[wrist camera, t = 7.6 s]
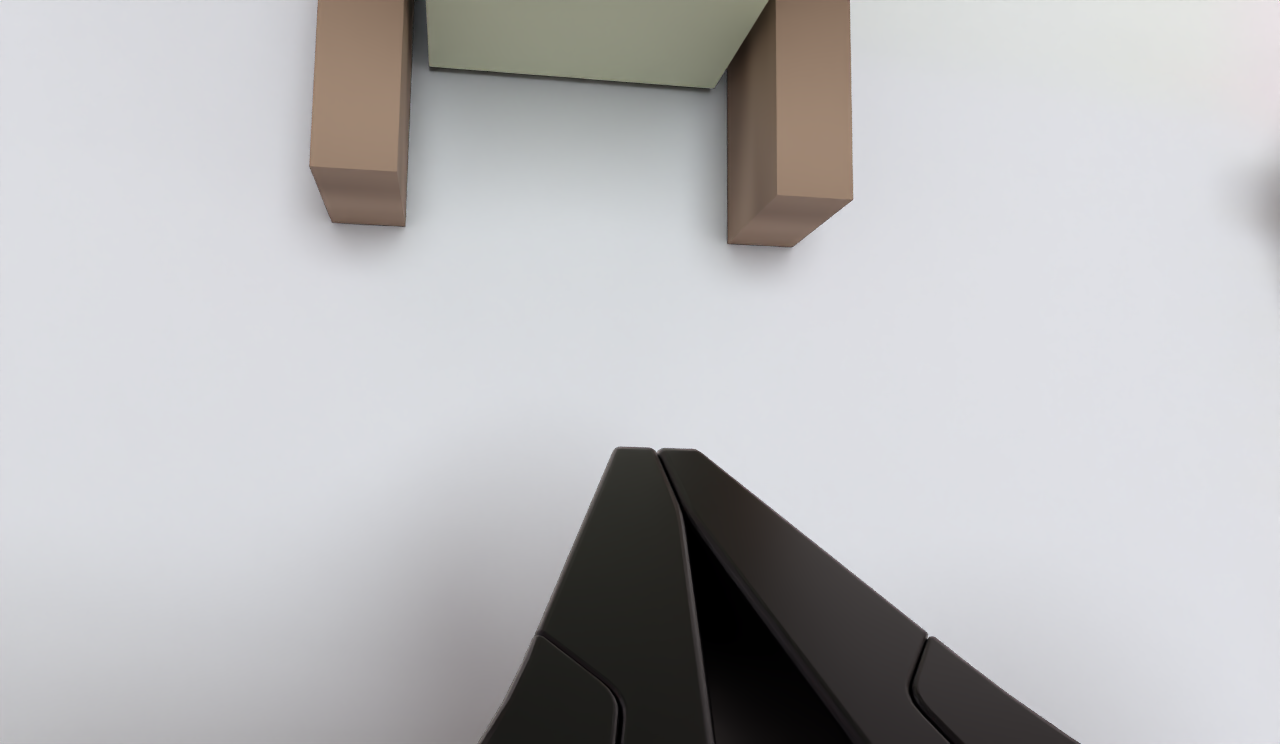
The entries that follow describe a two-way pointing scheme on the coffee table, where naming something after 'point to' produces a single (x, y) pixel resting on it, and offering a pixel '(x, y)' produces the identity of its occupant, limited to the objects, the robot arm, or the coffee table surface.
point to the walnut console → (756, 117)
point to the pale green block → (592, 38)
